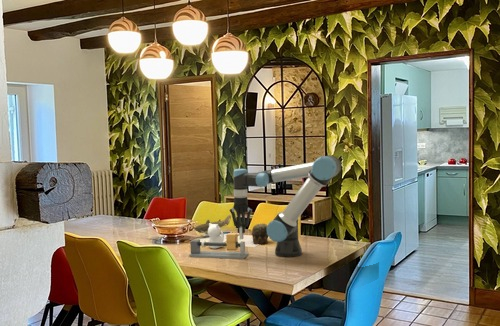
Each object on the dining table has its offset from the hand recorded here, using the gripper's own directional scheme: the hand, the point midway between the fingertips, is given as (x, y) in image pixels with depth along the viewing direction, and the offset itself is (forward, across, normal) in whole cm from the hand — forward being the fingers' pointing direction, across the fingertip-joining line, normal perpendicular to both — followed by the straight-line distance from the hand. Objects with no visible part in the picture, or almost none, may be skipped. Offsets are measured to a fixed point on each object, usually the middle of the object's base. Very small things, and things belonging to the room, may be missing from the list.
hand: (241, 238), depth 280 cm
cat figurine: (+11, +22, -20) cm, 31 cm away
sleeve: (+6, +6, 0) cm, 8 cm away
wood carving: (+11, +36, -56) cm, 67 cm away
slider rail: (+10, +14, 0) cm, 17 cm away
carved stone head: (+10, -2, -35) cm, 36 cm away
